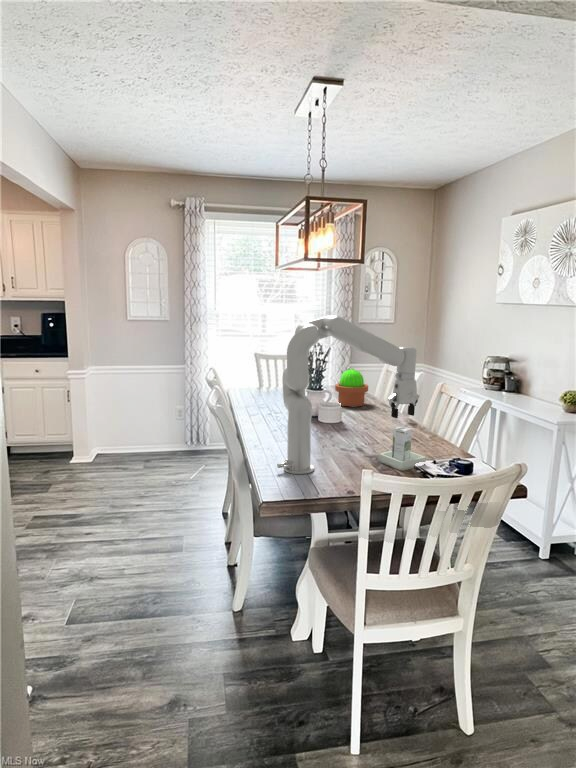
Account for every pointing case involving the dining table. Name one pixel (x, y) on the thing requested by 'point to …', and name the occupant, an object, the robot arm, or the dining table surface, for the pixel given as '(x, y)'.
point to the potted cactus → (351, 388)
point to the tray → (400, 465)
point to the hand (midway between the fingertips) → (402, 416)
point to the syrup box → (401, 443)
